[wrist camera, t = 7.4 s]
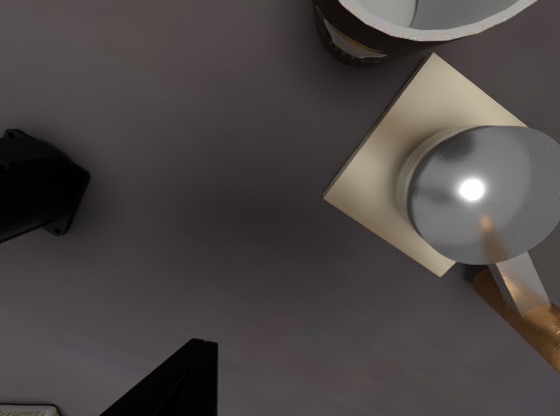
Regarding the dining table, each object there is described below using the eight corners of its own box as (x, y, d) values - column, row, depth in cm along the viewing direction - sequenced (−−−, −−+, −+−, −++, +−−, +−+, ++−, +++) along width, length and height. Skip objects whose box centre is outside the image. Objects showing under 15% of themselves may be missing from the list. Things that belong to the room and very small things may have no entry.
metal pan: (367, 163, 18) (447, 212, 8) (473, 101, 16) (727, 70, 6) (452, 314, 21) (581, 478, 11) (547, 274, 19) (795, 425, 9)
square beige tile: (434, 270, 21) (454, 293, 18) (322, 194, 20) (325, 206, 17) (551, 154, 18) (598, 160, 15) (425, 56, 17) (451, 42, 14)
